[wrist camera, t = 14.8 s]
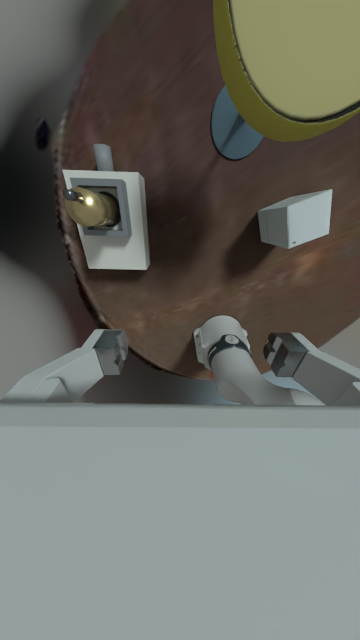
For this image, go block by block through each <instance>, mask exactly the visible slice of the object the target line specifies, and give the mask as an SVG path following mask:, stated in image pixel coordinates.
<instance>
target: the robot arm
mask: <svg viewBox="0 0 360 640" xmlns="http://www.w3.org/2000/svg"><path fill="white" fill-rule="evenodd" d="M193 334H194V341H195V347H196V353H197V359H198V362H200V363H202V364H204V366H205V368H207V369H209V370H212V372H211V378H214V381H215V386H216V389H217V391H218V392H219V394H220V395H221V396H223V398H225V399H226V400H229V401H232V402H237V403H241V405H230V404H229V405H228V404H225V405H224V404H129V403H126V404H125V403H74V402H75V401H76V400H77V399H78V398H80V397H81V396H82V395H83V394H84V393H85V392H86V391H87V390H88V389H90V388H91V387H92V386H93V385H94V384H95V383H96V382H97V381H98V380H99V379H101V378H102V377H103V376H104V375H120V373H121V370H122V368H123V365H124V364H123V361H124V360H125V359H126V357H127V354H128V343H127V342H126V341H125V338H126V333H125V331H124V330H111V329H96V330H94V332H93V333H92V334H91V335H90V337H89V338H88V339H87V341H86V342H85V343H84V345H83V346H82V347H81V348H77V349H76V350H74V351H72V352H70V353H68V354H66V355H64V356H62V357H60V358H58V359H57V360H55V361H53V362H51V363H49V364H47V365H45V366H43V367H41V368H40V369H38V370H36V371H34V372H32V373H30V374H28V375H26V376H24V377H23V378H22V379H21V380H20V381H19V382H18V383H17V384H16V385H15V386H14V387H13V388H12V389H11V390H10V391H9V392H8V393H7V394H6V395H5V396H4V397H3V398H2V399H1V400H0V640H360V369H358V368H356V367H354V366H352V365H350V364H347V363H345V362H343V361H341V360H339V359H337V358H335V357H333V356H331V355H328V354H326V353H324V352H320V351H319V350H318V349H317V348H316V347H315V346H314V345H312V344H311V343H310V342H309V341H308V340H307V339H306V338H305V337H304V336H303V335H302V334H300V333H270V334H269V335H268V338H267V339H268V341H269V342H268V343H266V344H265V346H264V348H263V354H264V358H265V359H266V361H267V362H269V363H270V364H271V366H270V367H271V369H272V371H273V372H274V373H275V375H276V377H292V378H293V379H294V380H295V381H296V382H298V383H299V384H300V385H301V386H303V387H304V388H305V389H307V390H308V391H309V392H310V393H312V394H313V395H314V396H315V397H317V398H318V399H319V400H320V401H319V400H318V399H316V398H315V397H313V396H311V395H310V394H308V393H306V392H303V391H300V390H297V389H291V388H283V387H279V386H276V385H274V384H272V383H270V382H269V381H267V380H266V379H265V378H264V377H263V376H262V375H261V374H260V372H259V371H258V369H257V367H256V366H255V364H254V362H253V360H252V355H251V352H250V350H249V348H250V346H249V343H248V341H247V338H246V337H247V332H246V330H244V329H243V328H241V326H240V324H239V322H238V321H237V320H236V319H234V318H232V317H229V316H216V317H213V318H211V319H209V320H208V321H206V322H205V323H204V324H203V325H202V326H201V327H200V328H198V329H196V330H194V332H193ZM197 335H198V336H197ZM321 401H322V402H323V403H324V404H325V405H324V404H323V403H322V402H321Z"/></svg>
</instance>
